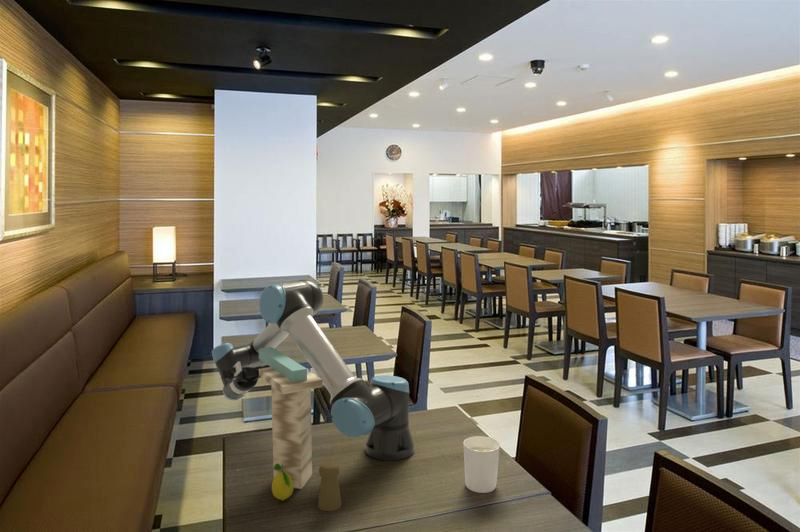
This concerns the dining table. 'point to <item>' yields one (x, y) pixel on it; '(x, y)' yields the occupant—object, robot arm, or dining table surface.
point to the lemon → (282, 484)
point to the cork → (329, 487)
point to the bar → (283, 364)
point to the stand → (292, 424)
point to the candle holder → (481, 463)
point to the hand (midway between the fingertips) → (262, 362)
